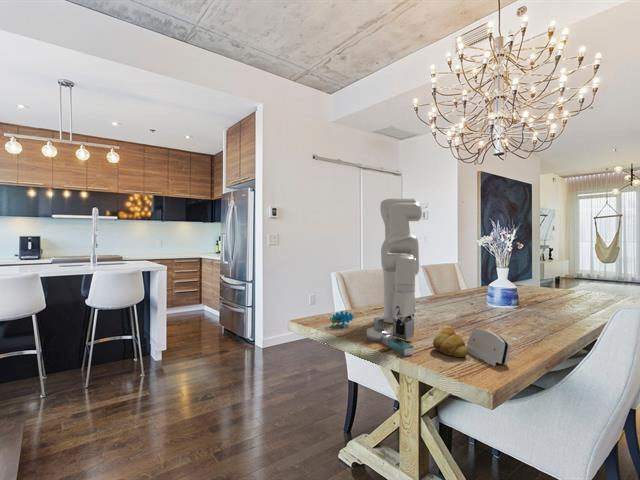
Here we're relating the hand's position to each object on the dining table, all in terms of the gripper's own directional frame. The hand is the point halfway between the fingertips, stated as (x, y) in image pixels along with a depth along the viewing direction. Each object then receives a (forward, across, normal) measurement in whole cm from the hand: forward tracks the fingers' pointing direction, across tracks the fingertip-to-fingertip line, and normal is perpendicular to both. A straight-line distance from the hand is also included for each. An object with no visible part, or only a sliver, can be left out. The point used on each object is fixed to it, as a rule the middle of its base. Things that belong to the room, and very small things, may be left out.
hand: (404, 331), depth 134 cm
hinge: (+4, -6, +29) cm, 30 cm away
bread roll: (+4, 0, +19) cm, 19 cm away
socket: (+2, 0, 0) cm, 2 cm away
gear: (+5, +1, -32) cm, 32 cm away
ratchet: (+4, +7, -2) cm, 8 cm away
